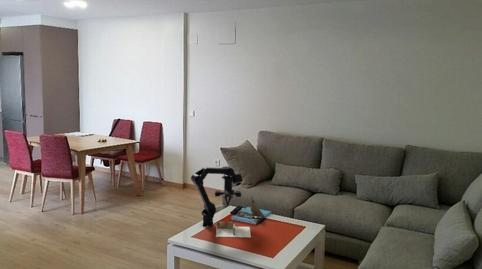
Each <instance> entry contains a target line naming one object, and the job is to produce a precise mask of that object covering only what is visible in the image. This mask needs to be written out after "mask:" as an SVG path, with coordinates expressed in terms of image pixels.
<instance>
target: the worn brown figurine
mask: <svg viewBox="0 0 482 269" xmlns="http://www.w3.org/2000/svg"><path fill="white" fill-rule="evenodd" d="M250 197H251V200H250V203H249V205H250V212H251V215H250V214H249V215H250V216H261V217H263V218H264V219H265V214H264V213H263V212H262V211H261V209H260V208H259V207H258V205H257V203H256V201H255V200H254V198H253V196H250Z"/></svg>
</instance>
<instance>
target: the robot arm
mask: <svg viewBox="0 0 482 269" xmlns="http://www.w3.org/2000/svg"><path fill="white" fill-rule="evenodd" d="M209 174H215V175H217V174H219V175H223V176H221V179H223V181H224V185H223V191H221V190H214V197H221V196H222V198H224V200H225V202H226V205H227V206H229V205H230V201H231V200H232V199H233V198H234V196H235V197H237V198H241V197H242V191H241V190H234V189H233V184H239V183H242V182H243V177H242V174H241V173H239V172H238V173H235V170H234V168H233V167H230V166H227V165H226V166H222V167H208V166H207V167H206V166H203V167H202V168H201V169H199V170H198V171H196V172H195V173H193V174H192V175H191V177H190V180H191V182H192V184H194V186H195V187H196V189H197V191H198V193H199V195H200V197H201V200H202V202H203V208H204V209H203V210H202V211H201V215H202V227H213V224H214V217H215V214H216V212H217V207H216V205H215V203H213V202H212V201H211V200H210V198H209V195H208V194H207V192H206V188H205V187H204V180H205V179H206V177H207V175H209Z"/></svg>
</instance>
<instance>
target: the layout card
mask: <svg viewBox="0 0 482 269" xmlns="http://www.w3.org/2000/svg"><path fill="white" fill-rule="evenodd" d="M215 238H252V236H251V228H250V226H235V234H233V228H219V229H217V227H216V231H215Z"/></svg>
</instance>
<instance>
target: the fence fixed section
mask: <svg viewBox="0 0 482 269" xmlns="http://www.w3.org/2000/svg"><path fill="white" fill-rule="evenodd" d="M233 223H235V224H236V221H217V222H216V228H217V229H219V228H233Z"/></svg>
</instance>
